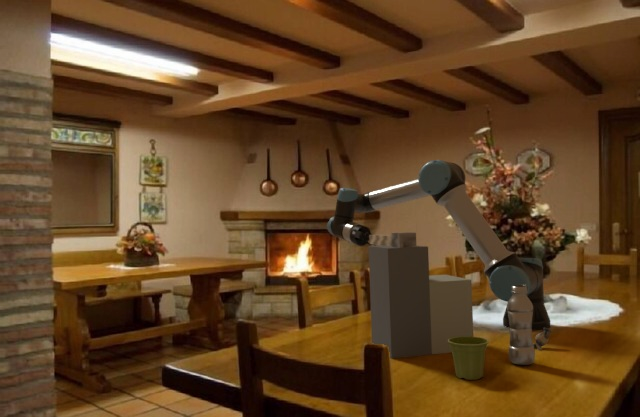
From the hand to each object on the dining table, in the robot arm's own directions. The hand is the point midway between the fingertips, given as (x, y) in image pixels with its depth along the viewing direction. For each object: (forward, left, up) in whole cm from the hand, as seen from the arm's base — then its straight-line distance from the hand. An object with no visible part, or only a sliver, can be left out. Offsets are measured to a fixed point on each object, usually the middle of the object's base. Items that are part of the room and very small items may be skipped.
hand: (395, 248), depth 188 cm
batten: (-8, +22, +2) cm, 24 cm away
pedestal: (-17, +22, -28) cm, 39 cm away
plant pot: (-37, +44, -28) cm, 64 cm away
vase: (-48, +8, -28) cm, 56 cm away
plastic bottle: (-46, +28, -28) cm, 61 cm away
